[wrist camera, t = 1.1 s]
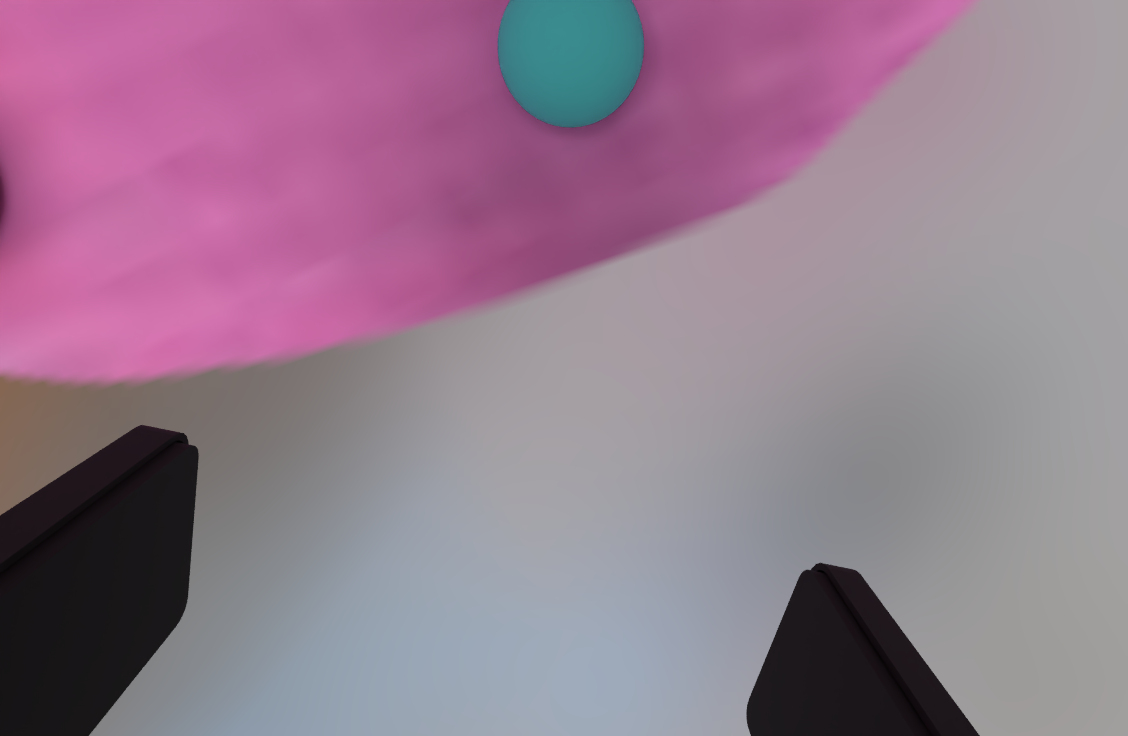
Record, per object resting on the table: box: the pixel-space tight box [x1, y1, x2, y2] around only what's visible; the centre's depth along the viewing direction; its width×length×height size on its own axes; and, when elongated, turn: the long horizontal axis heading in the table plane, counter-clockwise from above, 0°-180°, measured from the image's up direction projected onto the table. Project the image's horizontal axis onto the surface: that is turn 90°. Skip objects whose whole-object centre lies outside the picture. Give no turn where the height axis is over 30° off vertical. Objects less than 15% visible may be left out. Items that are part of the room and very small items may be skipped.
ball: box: [498, 0, 644, 127], centre depth 22 cm, size 5×5×5 cm
